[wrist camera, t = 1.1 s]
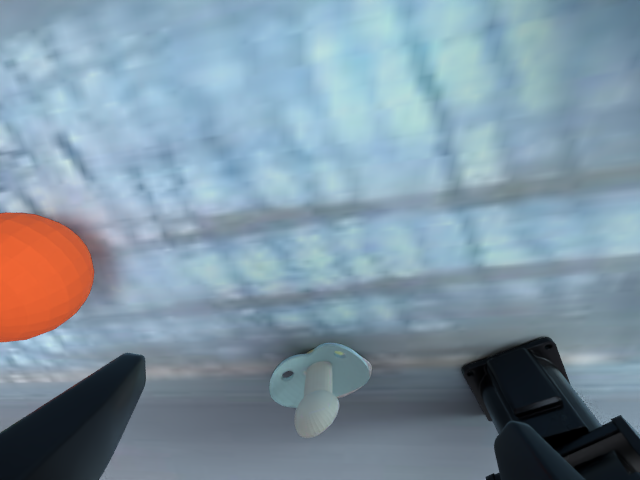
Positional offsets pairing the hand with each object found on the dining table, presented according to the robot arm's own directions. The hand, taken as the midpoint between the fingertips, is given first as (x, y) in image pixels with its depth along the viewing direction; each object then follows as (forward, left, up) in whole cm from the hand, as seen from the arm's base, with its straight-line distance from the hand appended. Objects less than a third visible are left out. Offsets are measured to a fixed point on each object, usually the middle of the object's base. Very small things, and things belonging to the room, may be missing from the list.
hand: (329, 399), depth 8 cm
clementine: (+6, +17, -13) cm, 22 cm away
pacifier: (-11, +7, -13) cm, 18 cm away
